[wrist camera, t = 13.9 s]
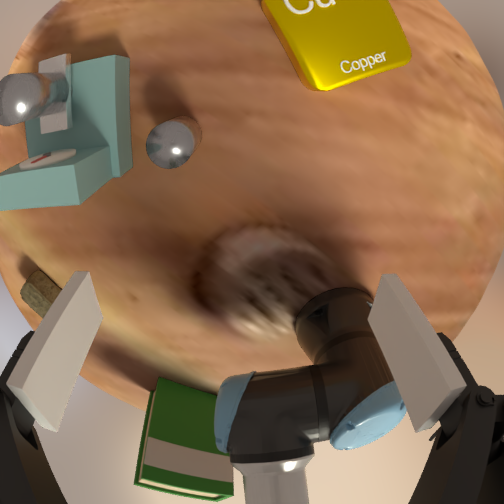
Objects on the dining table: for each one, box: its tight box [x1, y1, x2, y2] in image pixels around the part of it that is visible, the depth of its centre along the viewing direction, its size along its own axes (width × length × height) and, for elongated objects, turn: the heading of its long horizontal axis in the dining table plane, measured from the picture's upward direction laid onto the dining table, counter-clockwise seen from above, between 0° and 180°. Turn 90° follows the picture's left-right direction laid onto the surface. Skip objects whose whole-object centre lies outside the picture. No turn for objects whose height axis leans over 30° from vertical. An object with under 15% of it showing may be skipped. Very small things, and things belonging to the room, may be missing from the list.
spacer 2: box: [146, 116, 202, 169], centre depth 33 cm, size 5×5×8 cm
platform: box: [39, 53, 73, 134], centre depth 26 cm, size 9×4×3 cm, turn 178°
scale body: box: [0, 55, 133, 211], centre depth 28 cm, size 15×14×14 cm
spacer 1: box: [0, 72, 69, 126], centre depth 21 cm, size 5×5×8 cm
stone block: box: [20, 270, 62, 318], centre depth 46 cm, size 6×12×5 cm, turn 39°
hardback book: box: [134, 377, 234, 502], centre depth 53 cm, size 18×7×24 cm, turn 60°
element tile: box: [261, 0, 412, 91], centre depth 28 cm, size 15×15×5 cm
